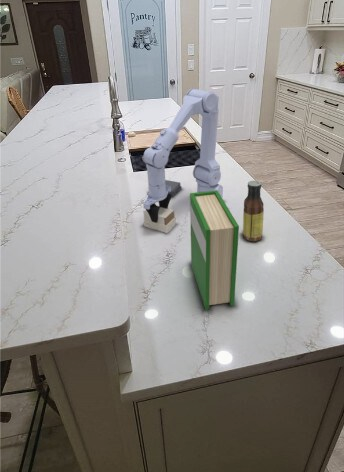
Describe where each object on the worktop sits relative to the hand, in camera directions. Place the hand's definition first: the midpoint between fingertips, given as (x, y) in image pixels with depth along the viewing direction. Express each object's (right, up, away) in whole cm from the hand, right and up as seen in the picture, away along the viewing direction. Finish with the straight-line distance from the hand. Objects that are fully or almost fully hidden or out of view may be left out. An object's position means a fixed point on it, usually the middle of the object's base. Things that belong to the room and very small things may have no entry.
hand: (159, 217), depth 115 cm
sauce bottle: (+31, -6, -7) cm, 32 cm away
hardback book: (+15, -16, -25) cm, 33 cm away
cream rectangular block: (0, -3, +2) cm, 3 cm away
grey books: (+2, +10, +25) cm, 27 cm away
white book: (0, 0, 0) cm, 0 cm away
